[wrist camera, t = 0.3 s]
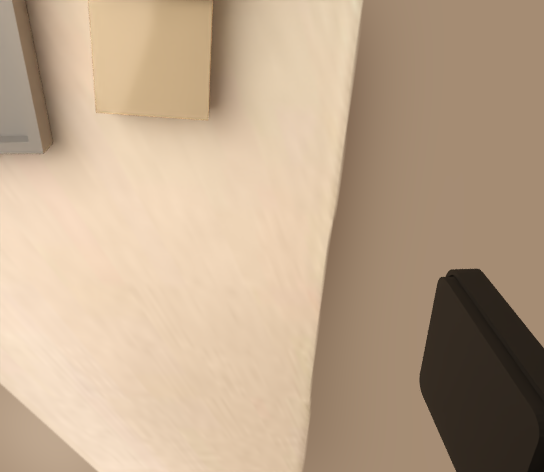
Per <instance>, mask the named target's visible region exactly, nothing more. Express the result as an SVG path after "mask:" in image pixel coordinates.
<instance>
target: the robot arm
mask: <svg viewBox="0 0 544 472" xmlns="http://www.w3.org/2000/svg"><path fill="white" fill-rule="evenodd" d="M420 388H421V392H422V395H423V397H424V400H425V402H426V404H427V406H428V408H429V411H430V413H431V415H432V417H433V420H434V422H435V425H436V427H437V429H438V431H439V433H440V436H441V438H442V440H443V442H444V445H445V447H446V449H447V452H448V454H449V456H450V458H451V461H452V463H453V465H454V467H455V470H456V472H544V348H543V347H542V346H541V344H540V343H539V342H538V341H537V339H536V338H535V337H534V336H533V334H532V333H531V332H530V331H529V329H528V328H527V327H526V326H525V324H524V323H523V322H522V321H521V319H520V318H519V317H518V316H517V315H516V313H515V312H514V311H513V309H512V308H511V307H510V306H509V304H508V303H507V302H506V301H505V300H504V298H503V297H502V296H501V294H500V293H499V292H498V291H497V289H496V288H495V287H494V286H493V284H492V283H491V282H490V281H489V279H488V278H487V277H486V276H485V274H484V273H483V272H482V271H481V270H480V269H455V270H450V271H449V272H448V273H447V275H446V277H441V278H440V279H439V280H438V284H437V288H436V293H435V299H434V304H433V310H432V315H431V320H430V325H429V330H428V335H427V340H426V346H425V351H424V356H423V361H422V367H421V372H420Z"/></svg>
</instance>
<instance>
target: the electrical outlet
mask: <svg viewBox="0 0 544 472" xmlns="http://www.w3.org/2000/svg"><path fill="white" fill-rule="evenodd" d="M88 6H89V20H90V35H91V49H92V63H93V77H94V91H95V106H96V113H107V114H121V115H136V116H150V117H165V118H179V119H194V120H208V115H209V98H210V71H211V43H212V16H213V0H88Z"/></svg>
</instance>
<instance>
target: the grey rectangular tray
mask: <svg viewBox="0 0 544 472" xmlns="http://www.w3.org/2000/svg"><path fill="white" fill-rule="evenodd" d="M52 143H53V140H52V135H51V130H50V125H49V119H48V114H47V109H46V104H45V99H44V94H43V89H42V84H41V79H40V73H39V68H38V63H37V58H36V53H35V48H34V43H33V38H32V33H31V27H30V22H29V17H28V12H27V7H26V2H25V0H0V154H44V153H45V152H46V150H47V149H48V148H49V147H50V146H51V145H52Z"/></svg>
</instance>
